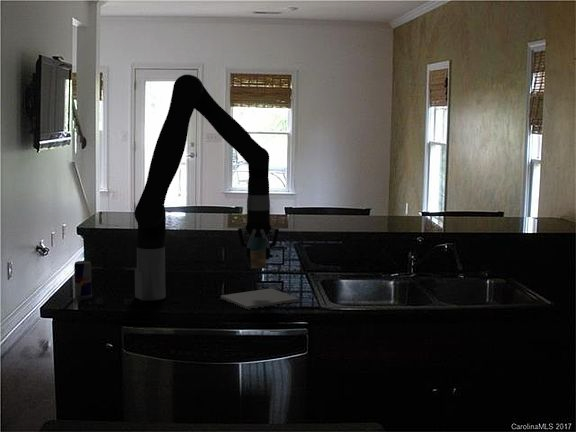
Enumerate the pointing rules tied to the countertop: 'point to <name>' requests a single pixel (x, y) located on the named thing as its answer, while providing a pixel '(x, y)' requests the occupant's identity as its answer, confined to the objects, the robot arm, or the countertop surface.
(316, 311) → the countertop surface
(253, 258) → the brown tall block
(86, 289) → the energy drink
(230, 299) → the cream board
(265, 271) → the countertop surface
